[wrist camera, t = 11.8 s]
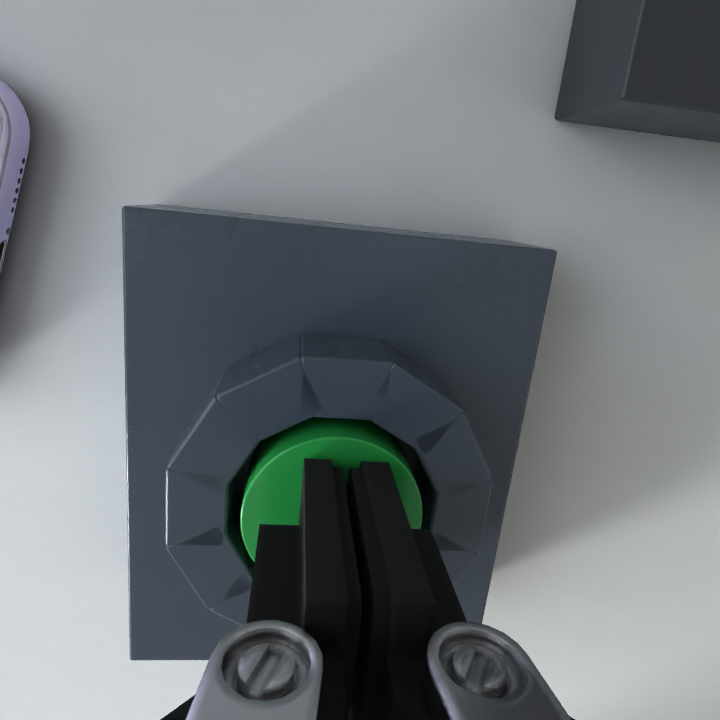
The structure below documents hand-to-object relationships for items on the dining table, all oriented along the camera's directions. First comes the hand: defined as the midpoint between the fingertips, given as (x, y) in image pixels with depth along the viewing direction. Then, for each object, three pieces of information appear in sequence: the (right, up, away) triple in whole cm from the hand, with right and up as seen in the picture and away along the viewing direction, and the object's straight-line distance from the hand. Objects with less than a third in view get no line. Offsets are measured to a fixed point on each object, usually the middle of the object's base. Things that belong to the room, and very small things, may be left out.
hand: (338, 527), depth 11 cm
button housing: (-1, +1, +5) cm, 5 cm away
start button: (0, +1, +2) cm, 2 cm away
